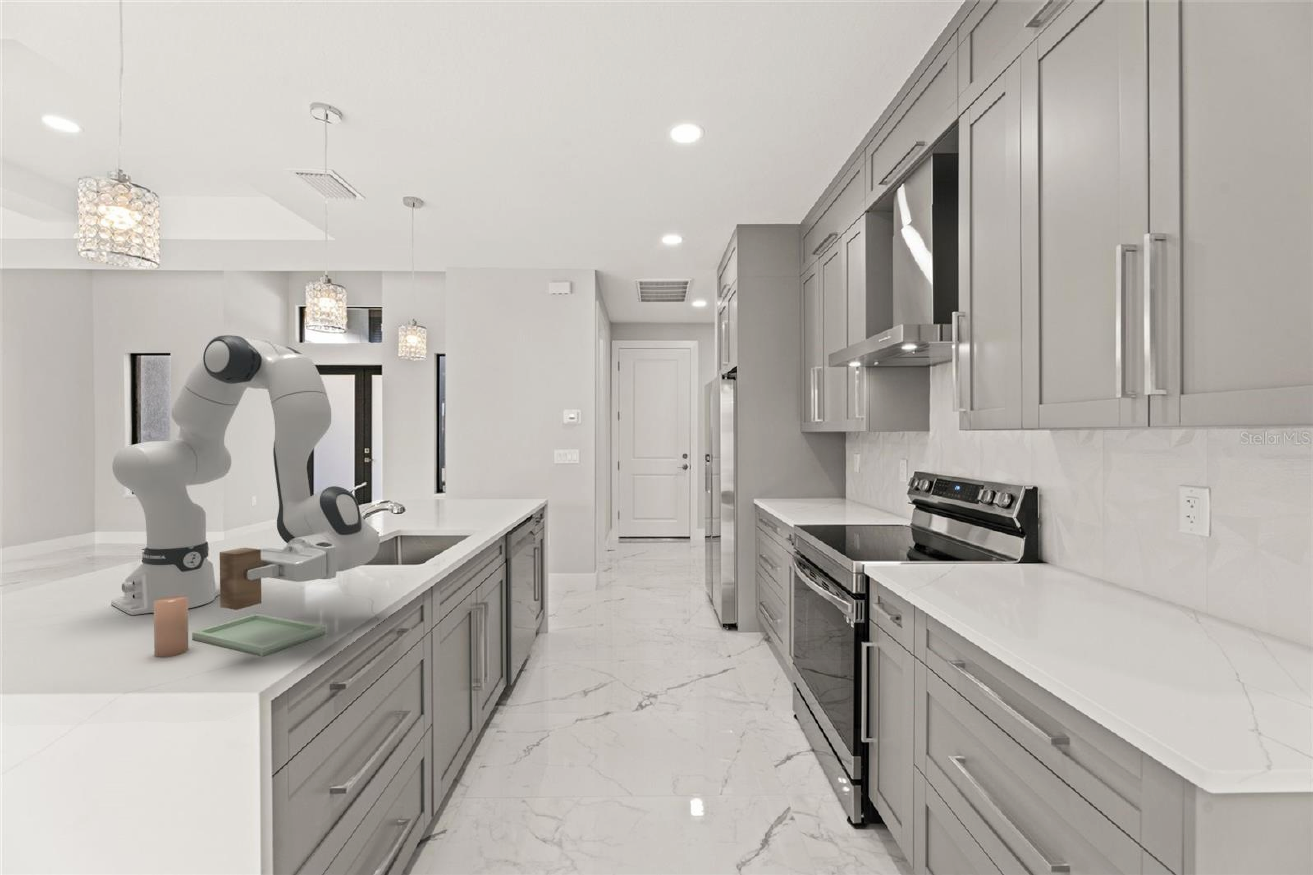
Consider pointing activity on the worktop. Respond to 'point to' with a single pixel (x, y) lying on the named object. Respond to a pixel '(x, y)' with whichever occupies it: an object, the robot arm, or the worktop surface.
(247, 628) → the tray
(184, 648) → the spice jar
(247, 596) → the walnut block
